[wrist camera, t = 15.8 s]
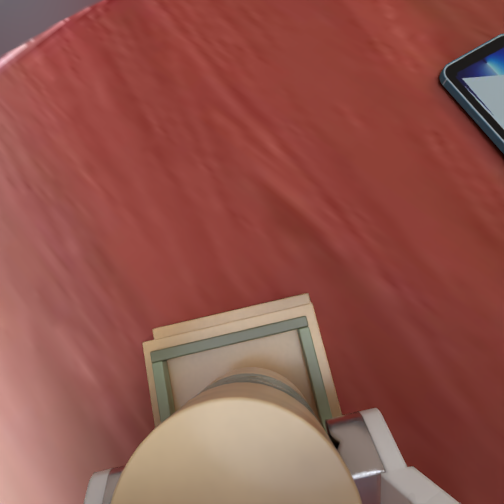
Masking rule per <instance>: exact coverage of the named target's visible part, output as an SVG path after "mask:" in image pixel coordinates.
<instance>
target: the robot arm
mask: <svg viewBox="0 0 504 504" xmlns="http://www.w3.org/2000/svg"><path fill="white" fill-rule="evenodd" d="M325 427H326V430H327V433H328V436H329V438H330V440H331V441H332V443H333V445H334V446H335V448H336V449H337V451H338V453H339V454H340V456H341V458H342V459H343V461H344V463H345V464H346V466H347V468H348V469H349V471H350V473H351V475H352V477H353V480H354V482H355V484H356V486H357V488H358V492H359V495H360V498H361V501H362V504H460V503H459V502H458V501H456V500H455V499H454V498H453V497H451V496H450V495H449V494H448V493H446V492H445V491H444V490H442V489H441V488H440V487H439V486H437V485H436V484H435V483H434V482H432V481H431V480H430V479H428V478H427V477H426V476H425V475H423V474H422V473H421V472H420V471H418V470H417V469H416V468H415V467H413V466H411V467H407V465H406V463H405V461H404V459H403V457H402V455H401V453H400V451H399V449H398V447H397V445H396V443H395V441H394V439H393V437H392V434H391V432H390V430H389V428H388V426H387V424H386V422H385V420H384V418H383V416H382V414H381V412H380V411H379V410H378V409H377V408H372V409H368V410H363V411H358V412H354V413H350V414H346V415H342V416H338V417H334V418H330V419H326V420H325ZM125 466H126V465H125ZM125 466H121V467H117V468H111V469H107V470H103V471H99V472H94V473H93V475H92V477H91V478H90V480H89V484H88V488H87V492H86V496H85V499H84V503H83V504H110V503H111V500H112V496H113V493H114V490H115V487H116V485H117V483H118V480H119V478H120V475H121V473H122V471H123V470H124V468H125Z"/></svg>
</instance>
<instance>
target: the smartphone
mask: <svg viewBox="0 0 504 504" xmlns="http://www.w3.org/2000/svg"><path fill="white" fill-rule="evenodd" d="M439 78H440V82H441V84H442V85H443V86H444V87H445V88H446V89H447V90H448V92H449V93H450V94H451V95H452V96H453V97H454V98H455V99H456V101H457V102H458V103H459V104H460V105H461V106H462V107H463V108H464V110H465V111H466V112H467V113H468V114H469V115H470V116H471V117H472V119H473V120H474V121H475V122H476V123H477V124H478V125H479V126H480V128H481V129H482V130H483V131H484V132H485V133H486V134H487V135H488V137H489V138H490V139H491V140H492V141H493V142H494V143H495V144H496V146H497V147H498V148H499V149H500V150H501V151H502V152H503V153H504V34H500V35H498V36H497V37H495V38H493V39H491V40H489V41H488V42H486V43H484V44H482V45H480V46H479V47H477V48H475V49H473V50H472V51H470V52H468V53H466V54H464V55H463V56H461V57H459V58H457V59H456V60H454V61H452V62H450V63H448V64H447V65H446V66H445V67H444V69H443V70H442V72H441V73H440V77H439Z"/></svg>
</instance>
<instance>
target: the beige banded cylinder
mask: <svg viewBox="0 0 504 504" xmlns="http://www.w3.org/2000/svg"><path fill="white" fill-rule="evenodd" d="M110 504H362V501H361V498H360V495H359V492H358V488H357V486H356V484H355V482H354V480H353V477H352V475H351V473H350V471H349V469H348V468H347V466H346V464H345V463H344V461H343V459H342V458H341V456H340V454H339V453H338V451H337V449H336V448H335V446H334V445H333V443H332V441H331V440H330V438H329V436H328V435H327V433H326V432H325V430H324V428H323V427H322V425H321V423H320V422H319V420H318V419H317V417H316V415H315V414H314V412H313V411H312V409H311V407H310V406H309V404H308V402H307V401H306V399H305V398H304V396H303V395H302V393H301V392H300V391H299V389H298V388H297V387H296V386H295V385H294V384H293V383H292V382H290V381H289V380H288V379H286V378H285V377H283V376H282V375H280V374H278V373H276V372H274V371H271V370H268V369H264V368H257V367H246V368H240V369H236V370H233V371H230V372H228V373H226V374H224V375H222V376H220V377H219V378H217V379H216V380H215V381H213V382H212V383H211V384H210V385H208V386H207V387H206V388H205V389H203V390H202V391H201V392H200V393H198V394H197V395H196V396H195V397H193V398H192V399H191V400H190V401H188V402H187V403H186V404H185V405H183V406H182V407H181V408H180V409H178V410H177V411H176V412H175V413H173V414H172V415H171V416H169V417H168V418H167V419H166V420H165V421H163V422H162V423H161V424H160V425H158V426H157V427H156V428H155V429H154V430H153V431H152V432H151V433H150V434H149V435H148V436H147V437H146V438H145V439H144V440H143V441H142V442H141V443H140V445H139V446H138V448H137V449H136V450H135V452H134V453H133V454H132V456H131V457H130V459H129V461H128V462H127V464H126V466H125V468H124V470H123V471H122V473H121V475H120V478H119V480H118V483H117V485H116V487H115V490H114V493H113V496H112V500H111V503H110Z"/></svg>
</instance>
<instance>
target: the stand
mask: <svg viewBox="0 0 504 504" xmlns="http://www.w3.org/2000/svg"><path fill="white" fill-rule="evenodd" d="M153 336H154V340H151V341H146V342H143V343H142V344H143V350H144V357H145V364H146V371H147V377H148V384H149V391H150V397H151V404H152V411H153V417H154V424H155V428H156V427H157V426H158V425H160V424H161V423H162V422H163V421H165V420H166V419H167V418H168V417H169V416H171V415H172V414H173V413H175V412H176V411H177V410H178V409H180V408H181V407H182V406H183V405H185V404H186V403H187V402H188V401H190V400H191V399H192V398H193V397H195V396H196V395H197V394H198V393H200V392H201V391H202V390H203V389H205V388H206V387H207V386H208V385H210V384H211V383H212V382H213V381H215V380H216V379H217V378H219V377H220V376H222V375H224V374H226V373H228V372H230V371H233V370H236V369H240V368H246V367H257V368H264V369H268V370H271V371H274V372H276V373H278V374H280V375H282V376H283V377H285V378H286V379H288V380H289V381H290V382H292V383H293V384H294V385H295V386H296V387H297V388H298V389H299V391H300V392H301V393H302V395H303V396H304V398H305V399H306V401H307V402H308V404H309V406H310V407H311V409H312V411H313V412H314V414H315V415H316V417H317V419H318V420H319V422H320V423H321V425H322V427H323V428H324V430H325V432H326V433H327V430H326V427H325V420H326V419H330V418H334V417H338V416H342V412H341V409H340V405H339V401H338V397H337V394H336V390H335V386H334V382H333V379H332V375H331V371H330V367H329V364H328V360H327V356H326V352H325V349H324V345H323V341H322V337H321V334H320V330H319V326H318V322H317V319H316V315H315V311H314V307H313V304H312V303H311V301H310V297H309V294H308V293H305V294H301V295H296V296H292V297H288V298H283V299H279V300H275V301H271V302H266V303H262V304H258V305H253V306H249V307H245V308H240V309H236V310H232V311H228V312H223V313H219V314H215V315H210V316H206V317H202V318H198V319H193V320H189V321H185V322H180V323H176V324H172V325H167V326H163V327H159V328H155V329H153ZM327 435H328V433H327Z"/></svg>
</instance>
